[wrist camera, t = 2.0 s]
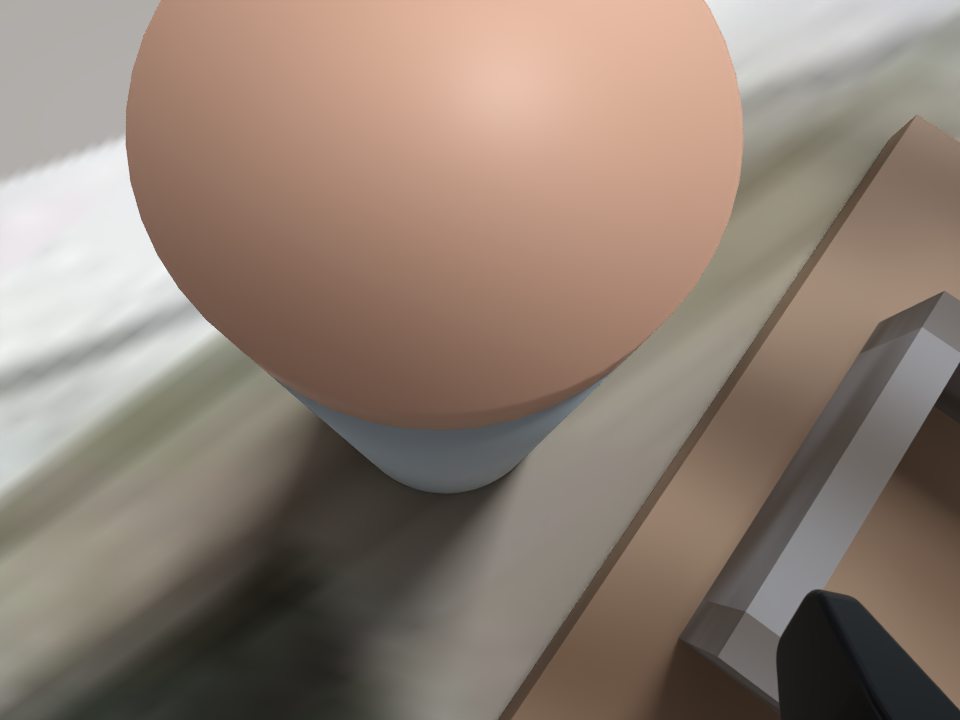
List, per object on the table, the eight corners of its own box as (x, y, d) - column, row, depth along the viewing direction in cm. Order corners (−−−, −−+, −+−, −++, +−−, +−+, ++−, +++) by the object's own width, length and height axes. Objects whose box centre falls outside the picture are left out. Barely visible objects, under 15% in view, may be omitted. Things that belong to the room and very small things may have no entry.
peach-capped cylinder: (467, 536, 18) (506, 553, 5) (304, 411, 19) (-10, 160, 6) (585, 372, 19) (853, 60, 6) (427, 258, 20) (386, -239, 7)
